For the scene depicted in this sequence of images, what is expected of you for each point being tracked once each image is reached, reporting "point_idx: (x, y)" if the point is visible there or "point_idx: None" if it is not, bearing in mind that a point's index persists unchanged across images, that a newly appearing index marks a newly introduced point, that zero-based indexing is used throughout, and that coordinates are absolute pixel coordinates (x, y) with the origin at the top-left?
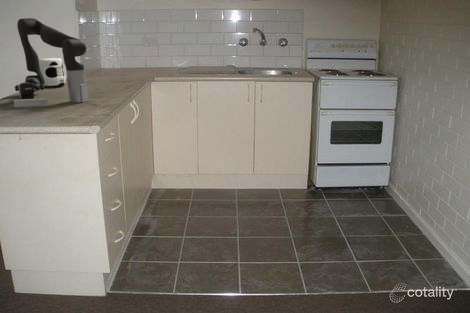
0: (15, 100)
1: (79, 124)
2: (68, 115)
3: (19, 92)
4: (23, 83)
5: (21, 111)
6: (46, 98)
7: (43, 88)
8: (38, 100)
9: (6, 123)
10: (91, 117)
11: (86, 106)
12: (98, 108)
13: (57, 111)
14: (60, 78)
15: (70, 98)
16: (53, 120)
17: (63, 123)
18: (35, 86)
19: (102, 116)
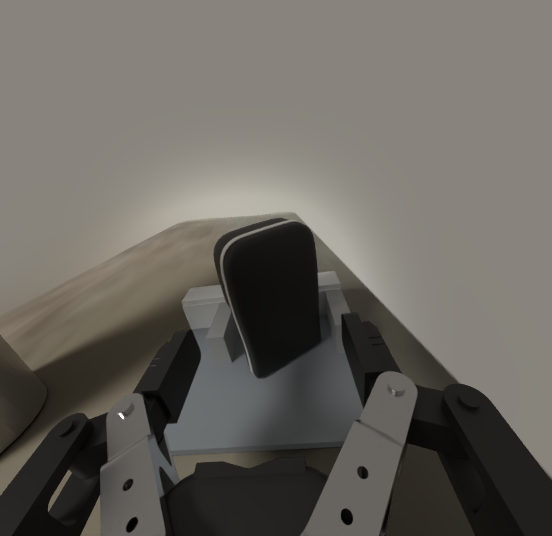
0: (325, 272)
1: (195, 223)
2: (187, 247)
3: (317, 277)
4: (274, 219)
5: None
6: (187, 296)
7: (57, 501)
8: None
9: (298, 219)
10: (159, 241)
11: (83, 310)
12: (84, 287)
13: (194, 268)
14: None
15: (31, 383)
16: (223, 230)
17: (213, 224)
18: (159, 452)
19: (140, 245)
